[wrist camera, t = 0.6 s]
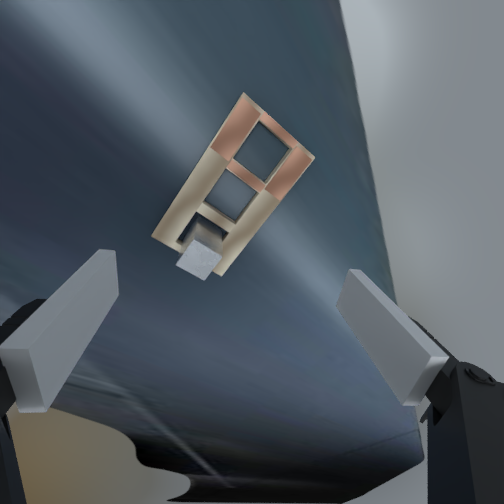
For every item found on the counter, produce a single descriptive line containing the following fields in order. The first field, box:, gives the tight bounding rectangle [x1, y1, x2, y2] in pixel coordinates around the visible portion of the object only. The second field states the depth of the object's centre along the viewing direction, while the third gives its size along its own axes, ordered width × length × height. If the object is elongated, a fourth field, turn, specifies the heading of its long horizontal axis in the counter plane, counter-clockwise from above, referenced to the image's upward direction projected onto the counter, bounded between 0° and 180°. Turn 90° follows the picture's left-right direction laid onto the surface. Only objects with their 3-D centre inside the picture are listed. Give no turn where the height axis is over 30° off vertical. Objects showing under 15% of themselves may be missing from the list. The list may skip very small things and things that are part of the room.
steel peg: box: [176, 216, 223, 280], centre depth 34 cm, size 4×4×9 cm
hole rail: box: [151, 92, 315, 276], centre depth 35 cm, size 12×22×2 cm, turn 143°
